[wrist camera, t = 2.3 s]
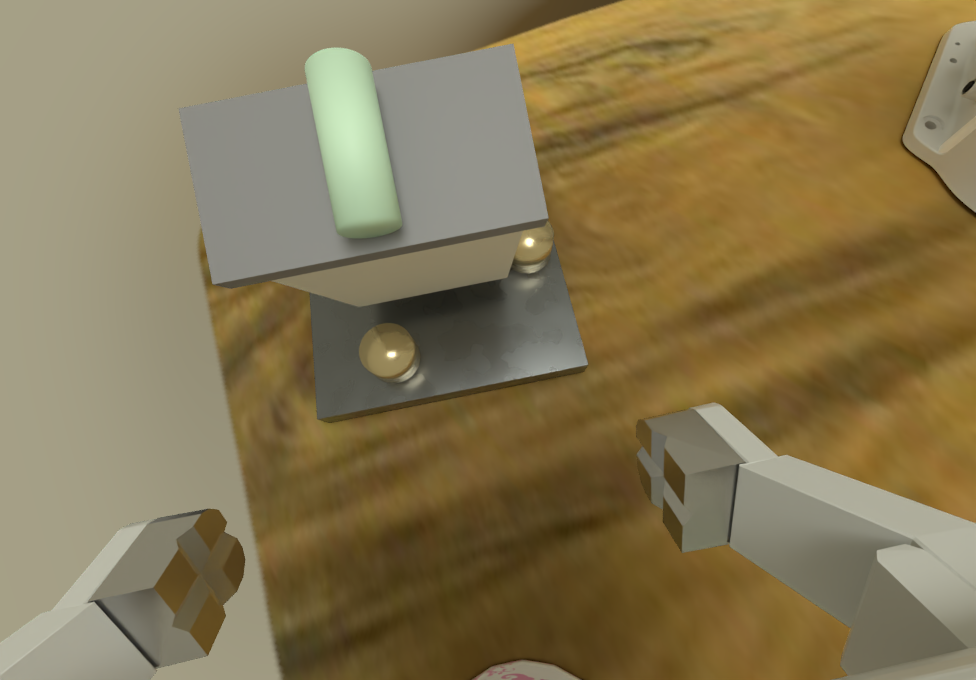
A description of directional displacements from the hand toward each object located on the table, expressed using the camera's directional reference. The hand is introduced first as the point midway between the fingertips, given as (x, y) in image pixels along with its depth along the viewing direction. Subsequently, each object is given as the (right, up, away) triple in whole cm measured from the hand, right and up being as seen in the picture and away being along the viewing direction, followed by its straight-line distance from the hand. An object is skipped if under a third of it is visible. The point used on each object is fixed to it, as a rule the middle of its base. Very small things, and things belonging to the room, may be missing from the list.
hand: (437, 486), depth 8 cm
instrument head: (-3, +9, +24) cm, 25 cm away
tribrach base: (-3, +8, +26) cm, 27 cm away
